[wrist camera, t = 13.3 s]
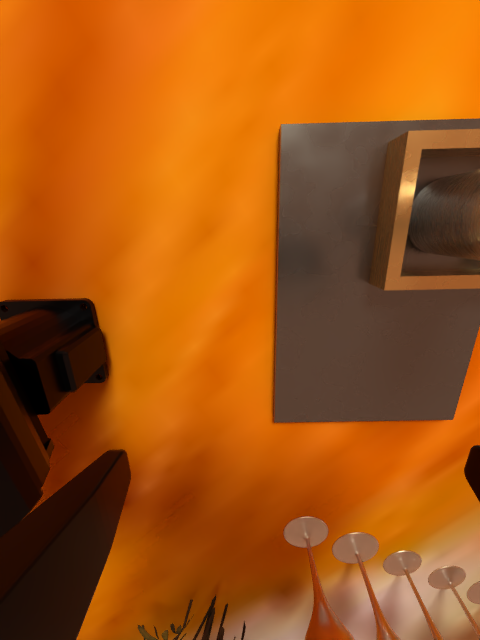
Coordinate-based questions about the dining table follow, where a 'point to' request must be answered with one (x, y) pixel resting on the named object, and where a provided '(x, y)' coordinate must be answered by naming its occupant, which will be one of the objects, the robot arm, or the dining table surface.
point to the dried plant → (207, 629)
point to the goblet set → (325, 627)
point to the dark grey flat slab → (369, 274)
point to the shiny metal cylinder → (448, 216)
